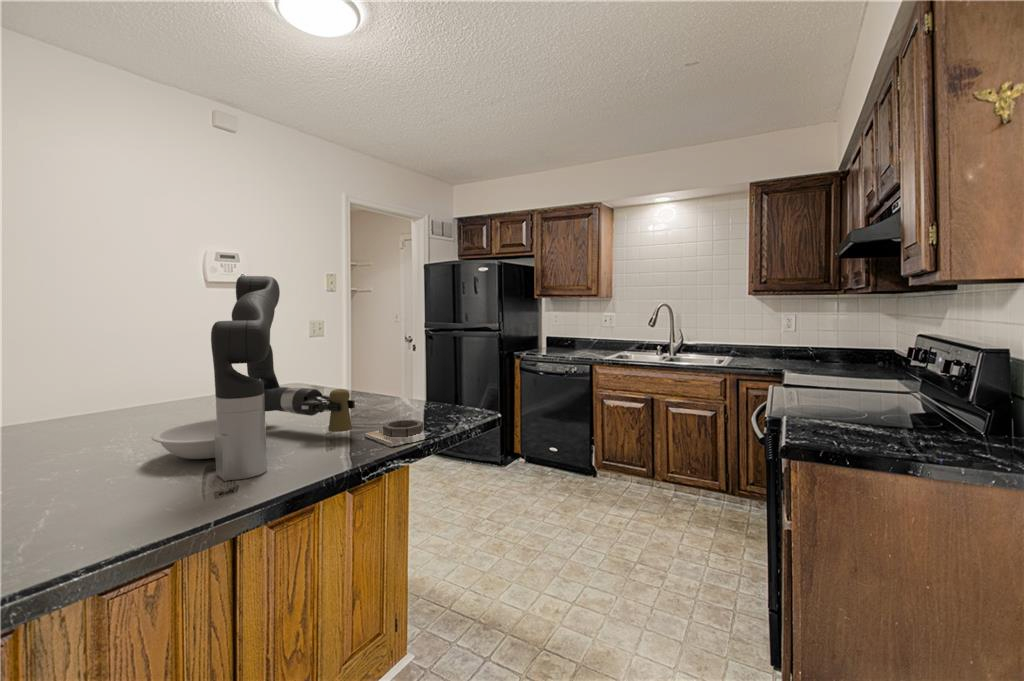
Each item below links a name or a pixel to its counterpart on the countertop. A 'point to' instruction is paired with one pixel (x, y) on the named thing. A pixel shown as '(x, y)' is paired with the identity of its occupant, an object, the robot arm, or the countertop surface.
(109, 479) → the countertop surface
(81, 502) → the countertop surface
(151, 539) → the countertop surface
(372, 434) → the socket board
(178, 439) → the soup bowl
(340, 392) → the cork
